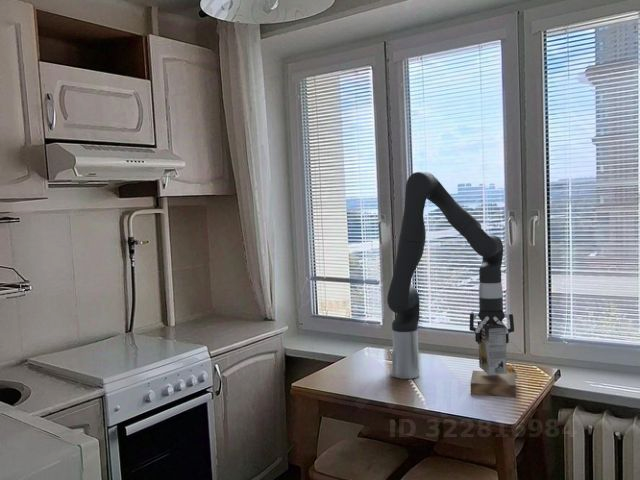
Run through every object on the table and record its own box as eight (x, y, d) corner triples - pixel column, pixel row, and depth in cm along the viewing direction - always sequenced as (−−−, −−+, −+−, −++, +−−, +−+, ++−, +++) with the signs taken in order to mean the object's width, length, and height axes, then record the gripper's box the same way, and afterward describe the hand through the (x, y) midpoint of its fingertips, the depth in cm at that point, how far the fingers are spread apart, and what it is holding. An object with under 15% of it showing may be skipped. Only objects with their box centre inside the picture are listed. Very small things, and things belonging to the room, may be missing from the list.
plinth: (470, 395, 182) (470, 383, 182) (473, 381, 196) (472, 370, 195) (516, 397, 178) (515, 385, 178) (515, 384, 191) (515, 372, 191)
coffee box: (478, 367, 191) (476, 320, 190) (496, 366, 191) (495, 319, 190) (488, 375, 182) (486, 326, 181) (507, 373, 182) (506, 325, 181)
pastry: (506, 382, 194) (505, 371, 194) (488, 379, 199) (487, 368, 199) (517, 375, 201) (517, 365, 201) (500, 372, 206) (499, 362, 205)
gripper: (467, 297, 184) (469, 345, 185) (513, 297, 179) (514, 347, 180) (469, 293, 191) (470, 340, 192) (513, 293, 186) (514, 341, 187)
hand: (492, 343), depth 186 cm, fingers closed on coffee box, 8 cm apart
